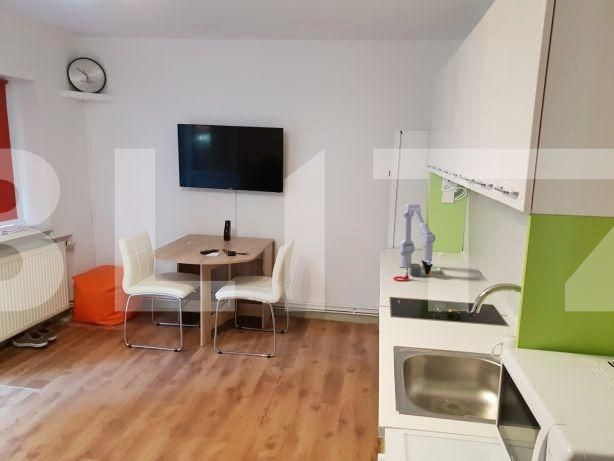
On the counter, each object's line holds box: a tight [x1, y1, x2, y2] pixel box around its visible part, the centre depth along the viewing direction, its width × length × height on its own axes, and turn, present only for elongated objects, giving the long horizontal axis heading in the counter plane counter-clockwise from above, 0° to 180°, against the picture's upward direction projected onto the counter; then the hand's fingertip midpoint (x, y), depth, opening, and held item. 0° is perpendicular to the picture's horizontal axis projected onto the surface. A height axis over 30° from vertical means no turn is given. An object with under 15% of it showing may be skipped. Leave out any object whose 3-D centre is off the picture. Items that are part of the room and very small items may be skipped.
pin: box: [408, 267, 432, 277], centre depth 278 cm, size 4×13×4 cm, turn 85°
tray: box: [420, 265, 442, 275], centre depth 287 cm, size 10×18×2 cm, turn 85°
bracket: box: [411, 262, 422, 278], centre depth 278 cm, size 9×5×6 cm, turn 175°
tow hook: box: [392, 259, 410, 282], centre depth 267 cm, size 8×13×9 cm
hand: (426, 273), depth 278 cm, fingers closed on pin, 4 cm apart
